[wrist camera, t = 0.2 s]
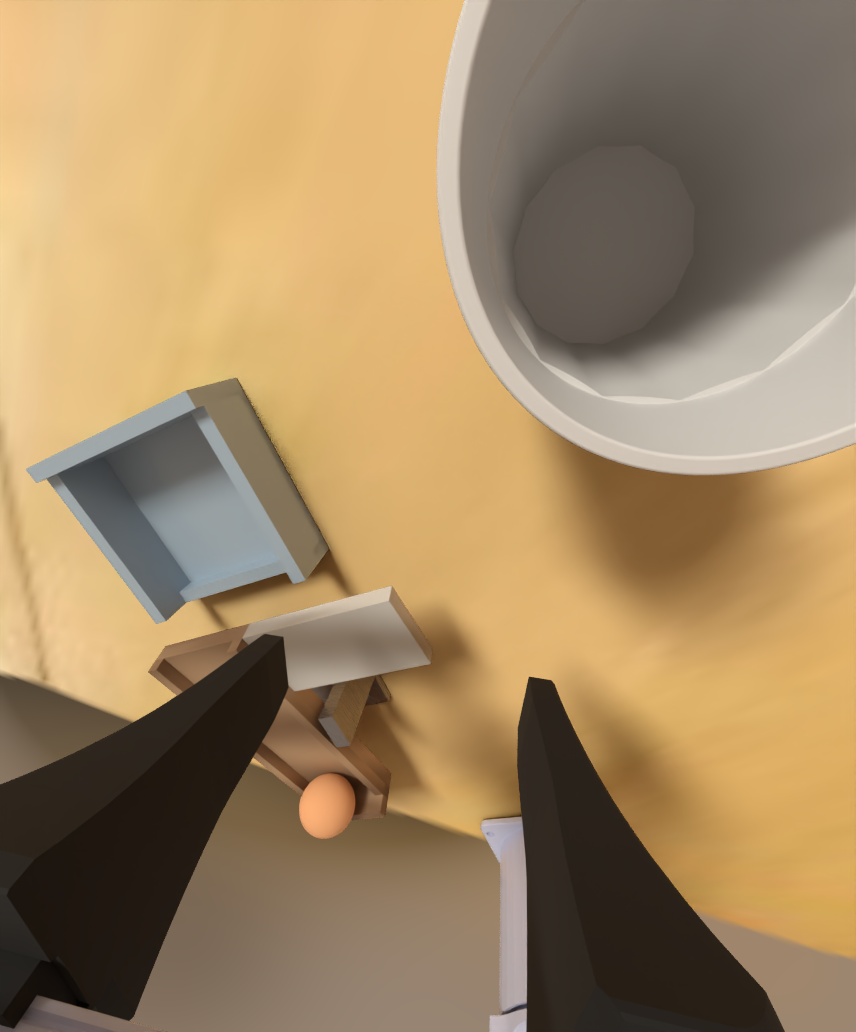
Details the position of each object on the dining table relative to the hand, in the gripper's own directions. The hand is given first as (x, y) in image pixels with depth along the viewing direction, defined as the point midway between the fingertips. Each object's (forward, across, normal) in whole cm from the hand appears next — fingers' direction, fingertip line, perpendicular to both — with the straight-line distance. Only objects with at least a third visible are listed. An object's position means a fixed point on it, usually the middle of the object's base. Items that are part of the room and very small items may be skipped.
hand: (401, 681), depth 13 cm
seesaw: (+6, +4, +9) cm, 12 cm away
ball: (+5, +5, +15) cm, 17 cm away
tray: (+10, +12, 0) cm, 16 cm away
